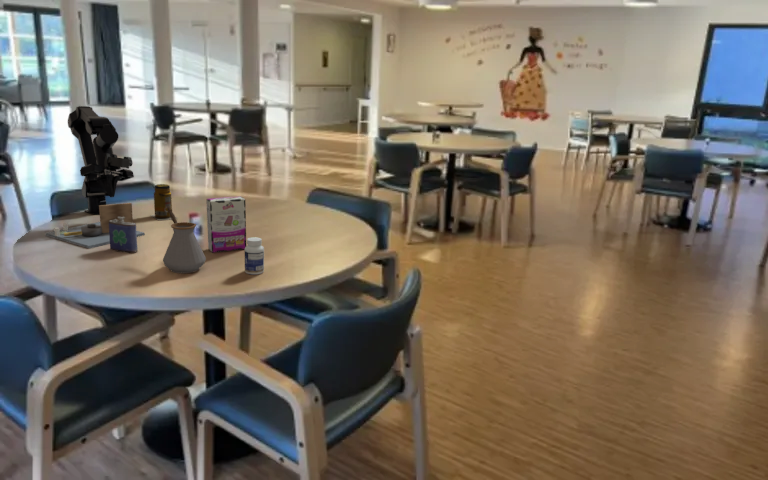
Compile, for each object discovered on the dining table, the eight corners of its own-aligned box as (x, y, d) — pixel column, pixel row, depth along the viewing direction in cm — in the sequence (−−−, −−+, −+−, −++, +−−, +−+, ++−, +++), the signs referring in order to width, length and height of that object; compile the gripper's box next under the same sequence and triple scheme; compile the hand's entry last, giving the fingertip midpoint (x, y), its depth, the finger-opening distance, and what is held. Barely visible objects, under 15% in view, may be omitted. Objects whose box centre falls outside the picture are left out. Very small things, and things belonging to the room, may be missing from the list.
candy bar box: (241, 245, 189) (241, 195, 185) (246, 249, 185) (246, 199, 181) (207, 248, 183) (205, 197, 179) (211, 253, 179) (210, 201, 175)
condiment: (169, 213, 222) (168, 182, 219) (177, 218, 216) (176, 187, 212) (150, 215, 217) (148, 184, 214) (157, 221, 211) (156, 188, 208)
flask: (139, 251, 177) (137, 217, 174) (133, 254, 174) (130, 219, 171) (113, 247, 179) (111, 213, 176) (107, 250, 176) (104, 215, 173)
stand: (45, 235, 186) (44, 225, 185) (101, 223, 203) (101, 214, 202) (89, 248, 176) (88, 238, 175) (144, 235, 193) (144, 225, 192)
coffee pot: (211, 272, 163) (210, 220, 159) (169, 278, 157) (167, 224, 152) (189, 251, 180) (187, 204, 176) (150, 255, 173) (147, 206, 169)
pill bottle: (246, 268, 168) (245, 236, 165) (264, 269, 168) (265, 236, 165) (243, 274, 162) (243, 241, 160) (262, 275, 163) (262, 242, 160)
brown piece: (66, 239, 180) (63, 210, 178) (62, 234, 185) (59, 206, 182) (135, 231, 193) (133, 205, 190) (130, 227, 197) (128, 201, 195)
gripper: (101, 142, 189) (110, 188, 187) (141, 150, 206) (150, 193, 205) (75, 151, 192) (83, 197, 191) (117, 159, 210) (125, 201, 209)
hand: (112, 197), depth 199 cm, fingers closed
